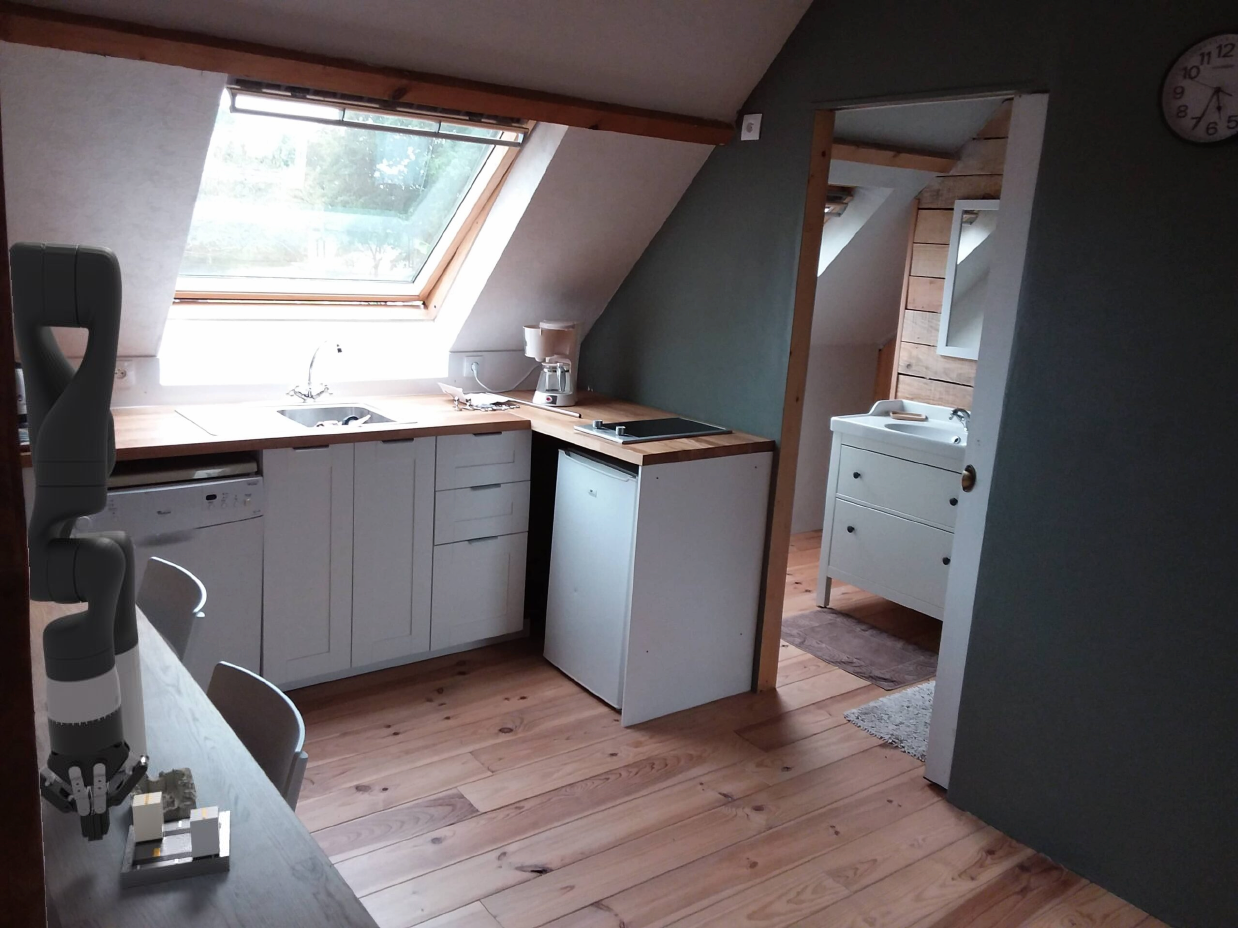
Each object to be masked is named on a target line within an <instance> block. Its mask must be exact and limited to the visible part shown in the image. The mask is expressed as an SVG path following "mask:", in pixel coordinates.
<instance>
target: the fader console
mask: <svg viewBox="0 0 1238 928" xmlns="http://www.w3.org/2000/svg"><path fill="white" fill-rule="evenodd" d="M231 825H232V822H231V810H224V811H219V829H220V853H217V854H211V855H205V856H199V857H193V858H192V846H191V830H190V817H184V818H177V819H170V820H164V832H163V838H158V839H152V840H145V841H139V842H135V833H134V824H131V825H129V829H128V834H127V840H126V845H125V850H124V856H123V861H122V862H123V863H122V867H121V872H120V876H121V887H122V888H123V889H126V888H131V887H139V886H143V885H149V884H150V885H151V884H156V883H163V882H166V881H173V880H174V881H175V880H179V879H185V878H191V877H197V876H202V875H208V874H214V873H221V872H225V871H227V872H228V871H230V868H231V833H232V832H231V828H232V827H231Z"/></svg>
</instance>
